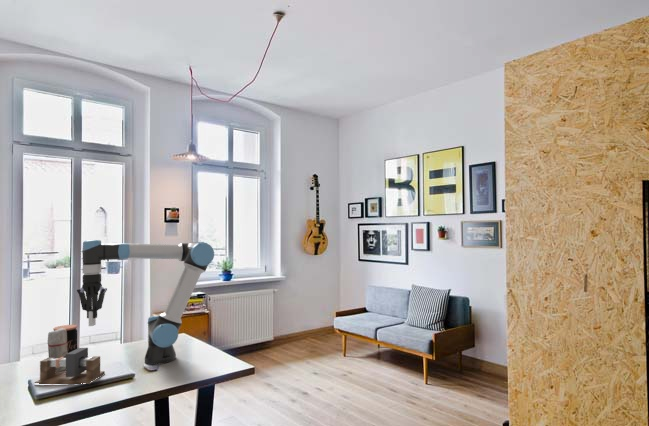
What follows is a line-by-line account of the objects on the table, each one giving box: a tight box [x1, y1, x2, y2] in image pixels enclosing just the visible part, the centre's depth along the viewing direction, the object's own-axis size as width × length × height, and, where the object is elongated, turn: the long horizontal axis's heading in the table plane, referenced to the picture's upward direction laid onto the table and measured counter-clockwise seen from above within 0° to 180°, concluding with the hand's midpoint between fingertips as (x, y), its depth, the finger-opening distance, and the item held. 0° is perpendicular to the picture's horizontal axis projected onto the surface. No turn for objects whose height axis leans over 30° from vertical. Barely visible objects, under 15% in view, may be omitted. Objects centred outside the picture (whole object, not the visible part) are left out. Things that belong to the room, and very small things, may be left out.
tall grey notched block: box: [65, 347, 89, 377], centre depth 190 cm, size 4×10×10 cm, turn 179°
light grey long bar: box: [49, 356, 94, 368], centre depth 190 cm, size 21×4×4 cm, turn 89°
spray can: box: [47, 328, 68, 372], centre depth 204 cm, size 8×8×20 cm
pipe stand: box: [34, 355, 105, 385], centre depth 189 cm, size 24×13×10 cm, turn 89°
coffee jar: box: [53, 324, 78, 353], centre depth 217 cm, size 11×11×18 cm
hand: (92, 325), depth 190 cm, fingers closed
